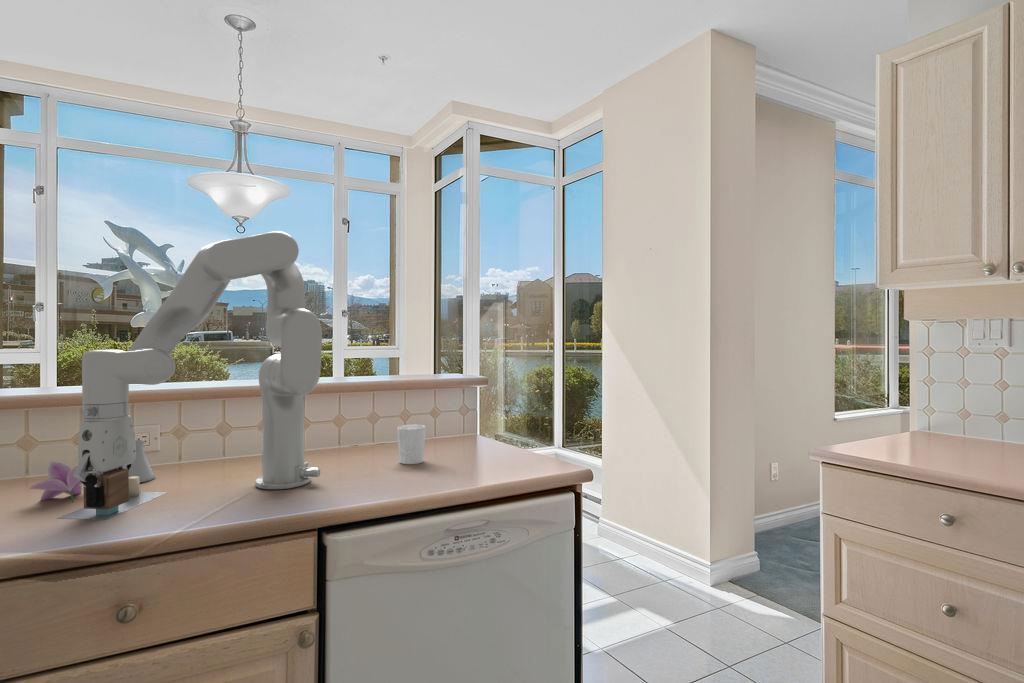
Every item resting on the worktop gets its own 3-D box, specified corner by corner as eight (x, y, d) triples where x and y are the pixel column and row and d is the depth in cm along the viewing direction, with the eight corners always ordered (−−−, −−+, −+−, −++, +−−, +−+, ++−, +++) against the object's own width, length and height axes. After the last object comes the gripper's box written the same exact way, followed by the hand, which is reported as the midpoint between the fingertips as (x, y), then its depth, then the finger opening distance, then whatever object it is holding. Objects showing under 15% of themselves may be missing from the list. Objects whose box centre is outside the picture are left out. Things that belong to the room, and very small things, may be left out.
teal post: (118, 510, 114) (118, 483, 114) (108, 514, 111) (108, 486, 111) (105, 510, 114) (105, 483, 114) (95, 514, 111) (95, 486, 111)
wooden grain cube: (128, 501, 115) (128, 469, 115) (109, 509, 110) (108, 475, 110) (104, 500, 115) (103, 468, 115) (83, 508, 110) (83, 475, 110)
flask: (137, 485, 135) (136, 444, 135) (111, 483, 136) (111, 442, 136) (161, 477, 142) (161, 438, 142) (137, 476, 143) (136, 437, 143)
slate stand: (167, 495, 126) (167, 474, 126) (106, 523, 108) (106, 498, 108) (125, 495, 127) (124, 473, 127) (56, 522, 109) (56, 497, 109)
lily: (114, 499, 128) (102, 460, 130) (99, 491, 117) (85, 449, 119) (50, 523, 122) (38, 482, 124) (28, 518, 112) (16, 473, 114)
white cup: (431, 460, 161) (431, 426, 161) (412, 466, 155) (412, 430, 154) (410, 457, 165) (410, 423, 165) (391, 462, 159) (391, 427, 159)
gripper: (90, 418, 103) (90, 516, 104) (153, 406, 120) (154, 490, 121) (50, 417, 104) (51, 515, 104) (119, 405, 121) (120, 489, 121)
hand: (106, 501), depth 112 cm, fingers closed on wooden grain cube, 5 cm apart
